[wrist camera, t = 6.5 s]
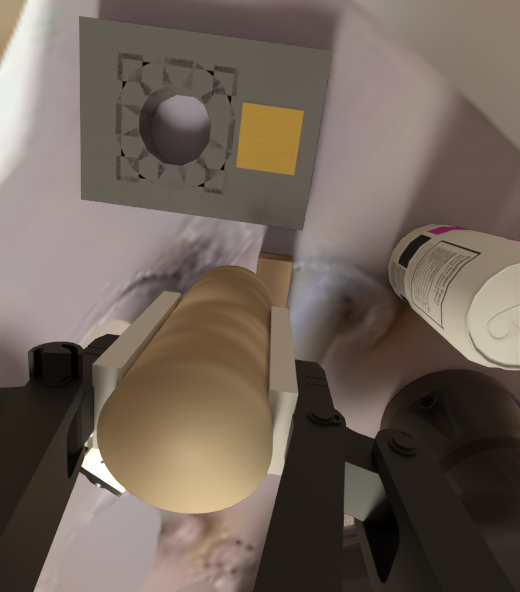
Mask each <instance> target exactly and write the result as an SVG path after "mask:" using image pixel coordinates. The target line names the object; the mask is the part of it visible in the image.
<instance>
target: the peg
mask: <svg viewBox="0 0 520 592" xmlns="http://www.w3.org/2000/svg"><path fill="white" fill-rule="evenodd" d="M272 306H273V307H274V301H273V297H272V294H271V292H270V290H269V288H268V286H267V285H266V283H265V282H264V281H263V280H262V279H261V278H260V277H259V276H258V275H257V274H255V273H254V272H252V271H250V270H248V269H246V268H243V267H239V266H230V265H227V266H220V267H216V268H213V269H211V270H209V271H207V272H205V273H204V274H202V275H201V276H200V277H199V278H198V279H197V280H196V282H195V283H194V284H193V286H192V287H191V288H190V290H189V291H188V292H187V293H186V295H185V296H184V297H183V299H182V300H181V301H180V303H179V304H178V305H177V307H176V308H175V309H174V311H173V312H172V313H171V315H170V316H169V317H168V319H167V320H166V321H165V323H164V324H163V325H162V327H161V328H160V329H159V331H158V332H157V333H156V335H155V336H154V337H153V339H152V340H151V341H150V343H149V344H148V345H147V347H146V348H145V349H144V351H143V352H142V353H141V355H140V356H139V357H138V359H137V360H136V361H135V363H134V364H133V365H132V367H131V368H130V369H129V371H128V372H127V373H126V375H125V376H124V377H123V379H122V380H121V381H120V383H119V384H118V385H117V387H116V388H115V389H114V391H113V392H112V393H111V395H110V396H109V397H108V399H107V400H106V402H105V404H104V405H103V407H102V409H101V412H100V415H99V418H98V423H97V444H98V449H99V452H100V455H101V458H102V460H103V462H104V464H105V466H106V467H107V469H108V471H109V472H110V474H111V475H112V476H113V477H114V479H115V480H116V481H117V482H118V483H119V484H120V485H121V486H122V487H123V488H124V489H126V490H127V491H128V492H129V493H131V494H132V495H134V496H135V497H137V498H138V499H140V500H142V501H144V502H146V503H148V504H150V505H153V506H155V507H158V508H161V509H165V510H168V511H173V512H179V513H192V514H193V513H207V512H214V511H217V510H221V509H225V508H227V507H230V506H232V505H234V504H236V503H238V502H240V501H242V500H243V499H245V498H246V497H247V496H249V495H250V494H251V493H252V492H253V491H254V490H255V489H256V488H257V487H258V486H259V485H260V484H261V482H262V481H263V479H264V478H265V476H266V474H267V472H268V469H269V467H270V464H271V460H272V455H273V416H272V410H271V406H270V403H269V401H268V388H269V355H270V322H271V308H272Z"/></svg>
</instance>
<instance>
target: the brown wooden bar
mask: <svg viewBox="0 0 520 592" xmlns="http://www.w3.org/2000/svg"><path fill="white" fill-rule="evenodd" d="M292 266H293V260H292V256H285V255H278V254H271V253H264V252H260V254H259V257H258V265H257V272H256V274H257V275H258V276H259V277H260V278H261V279H262V280H263V281H264V282H265V283H266V285H267V286H268V288H269V290H270V292H271V294H272V297H273V301H274V307H280V308H286V303H287V297H288V291H289V284H290V278H291V272H292Z"/></svg>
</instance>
